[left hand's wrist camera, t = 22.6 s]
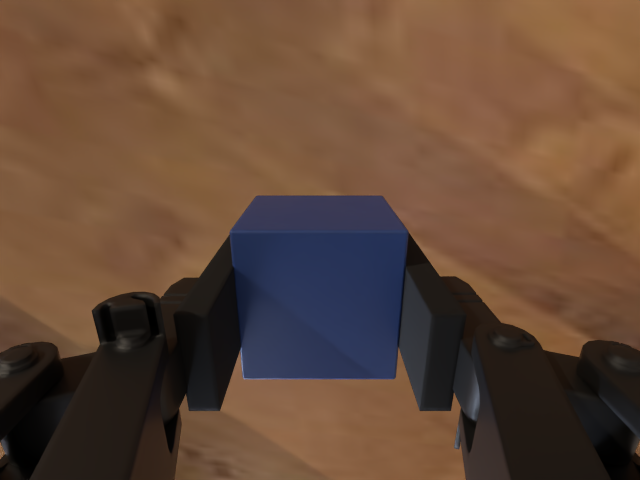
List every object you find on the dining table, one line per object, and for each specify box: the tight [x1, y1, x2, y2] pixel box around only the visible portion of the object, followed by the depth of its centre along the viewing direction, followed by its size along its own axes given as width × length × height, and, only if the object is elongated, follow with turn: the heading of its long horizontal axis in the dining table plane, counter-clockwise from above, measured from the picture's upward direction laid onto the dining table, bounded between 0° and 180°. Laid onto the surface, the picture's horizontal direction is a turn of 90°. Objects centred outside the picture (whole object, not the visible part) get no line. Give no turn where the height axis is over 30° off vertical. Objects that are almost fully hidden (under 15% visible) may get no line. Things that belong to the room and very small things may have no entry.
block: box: [230, 196, 409, 379], centre depth 13 cm, size 5×5×4 cm
